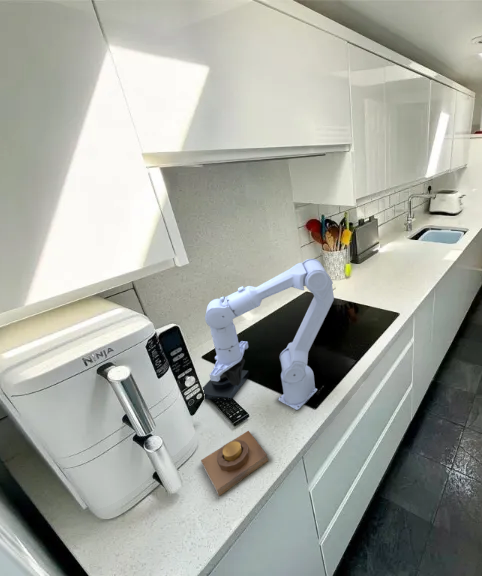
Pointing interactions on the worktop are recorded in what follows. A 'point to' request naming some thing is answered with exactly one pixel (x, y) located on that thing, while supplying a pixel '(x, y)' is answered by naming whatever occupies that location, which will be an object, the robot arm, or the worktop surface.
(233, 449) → the brass button
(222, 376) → the black button
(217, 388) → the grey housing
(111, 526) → the worktop surface
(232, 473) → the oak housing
